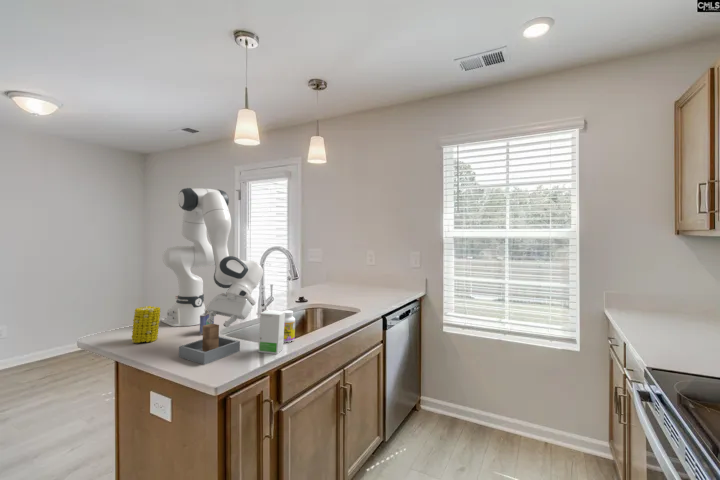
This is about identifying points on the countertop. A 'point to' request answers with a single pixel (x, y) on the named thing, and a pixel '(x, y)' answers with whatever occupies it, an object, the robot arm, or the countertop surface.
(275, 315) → the skincare box
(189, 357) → the bin
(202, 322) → the flask
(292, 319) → the supplement bottle
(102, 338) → the countertop surface
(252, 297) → the robot arm
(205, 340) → the block
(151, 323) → the food
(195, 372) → the countertop surface
